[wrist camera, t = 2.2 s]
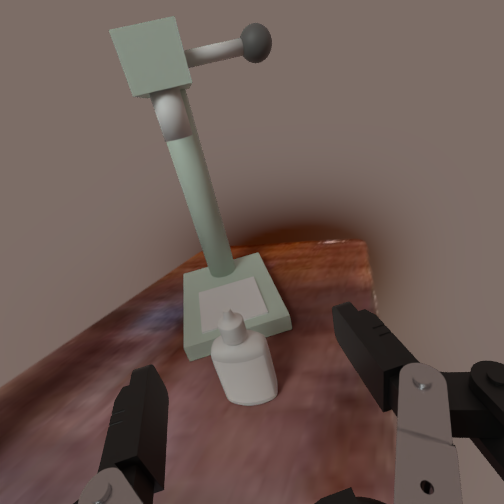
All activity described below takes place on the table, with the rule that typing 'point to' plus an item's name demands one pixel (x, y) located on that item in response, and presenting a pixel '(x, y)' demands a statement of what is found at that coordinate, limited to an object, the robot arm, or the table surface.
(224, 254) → the arbor press
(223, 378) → the eye dropper bottle
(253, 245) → the table surface
